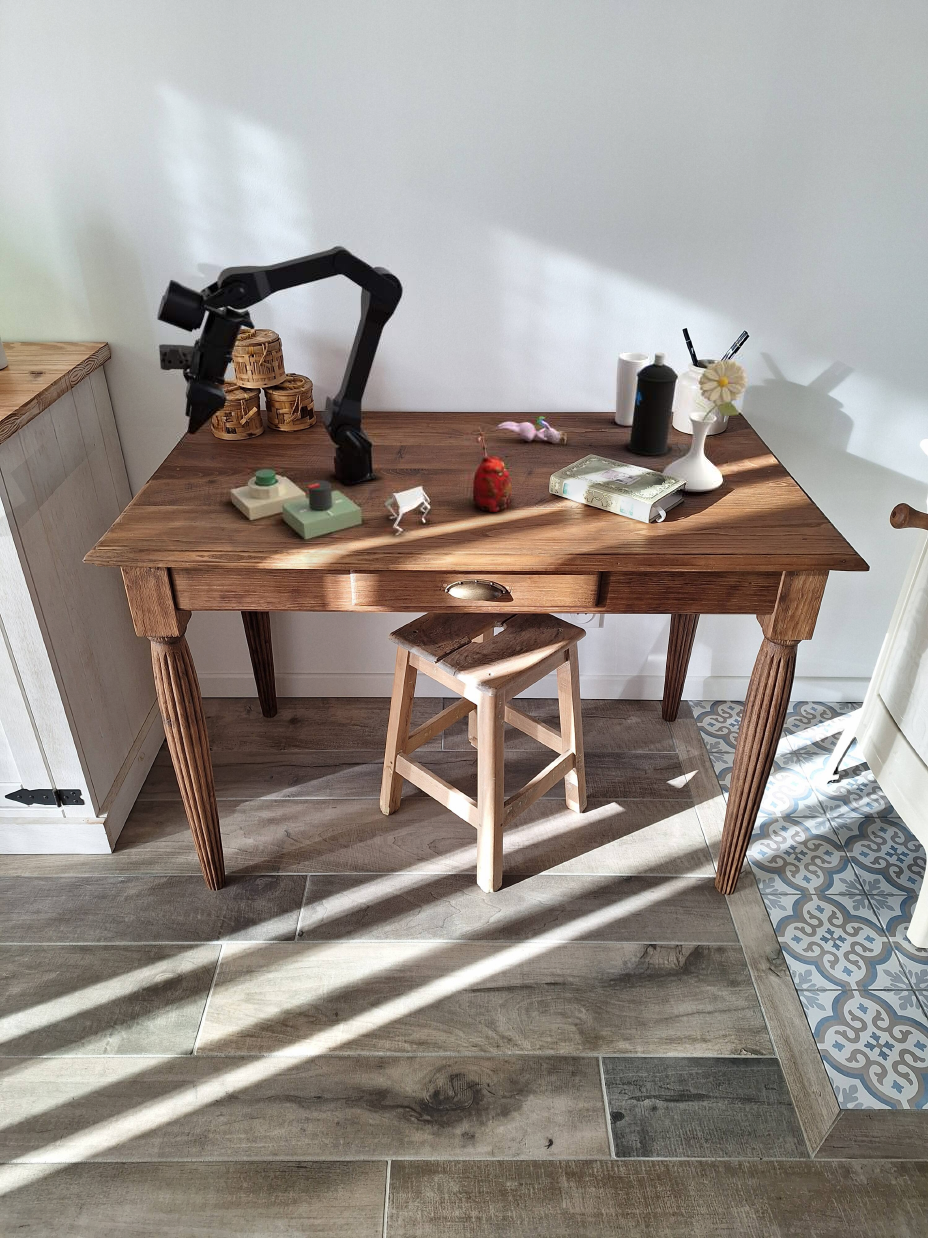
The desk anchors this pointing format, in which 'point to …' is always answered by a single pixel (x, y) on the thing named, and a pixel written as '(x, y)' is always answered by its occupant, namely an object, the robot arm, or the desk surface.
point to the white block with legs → (408, 503)
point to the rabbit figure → (534, 431)
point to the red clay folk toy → (491, 483)
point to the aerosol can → (653, 408)
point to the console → (321, 516)
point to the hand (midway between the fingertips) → (189, 424)
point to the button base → (265, 497)
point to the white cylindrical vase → (627, 385)
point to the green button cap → (265, 477)
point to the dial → (320, 495)
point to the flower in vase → (721, 388)
